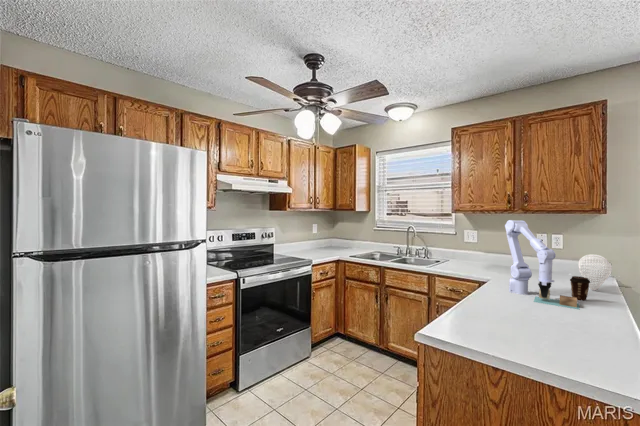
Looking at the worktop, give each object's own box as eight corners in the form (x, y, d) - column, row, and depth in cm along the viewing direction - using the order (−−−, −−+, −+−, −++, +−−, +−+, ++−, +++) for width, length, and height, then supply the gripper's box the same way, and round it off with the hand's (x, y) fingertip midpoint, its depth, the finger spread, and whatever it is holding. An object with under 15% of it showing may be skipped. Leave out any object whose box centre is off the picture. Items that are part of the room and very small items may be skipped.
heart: (611, 297, 182) (613, 259, 182) (577, 292, 192) (578, 256, 192) (608, 288, 204) (609, 254, 203) (577, 284, 214) (578, 252, 213)
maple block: (539, 297, 169) (539, 289, 169) (539, 296, 172) (539, 288, 172) (549, 299, 166) (549, 291, 166) (549, 297, 169) (550, 289, 169)
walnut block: (559, 304, 162) (559, 297, 162) (559, 301, 168) (559, 295, 168) (576, 307, 158) (577, 300, 158) (576, 304, 163) (576, 297, 163)
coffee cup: (584, 299, 176) (585, 276, 176) (593, 303, 168) (594, 279, 168) (566, 297, 179) (567, 275, 179) (573, 301, 171) (574, 278, 171)
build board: (533, 303, 166) (533, 301, 166) (535, 297, 177) (535, 296, 177) (579, 311, 154) (579, 309, 154) (578, 304, 165) (578, 303, 165)
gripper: (554, 274, 161) (553, 300, 161) (555, 270, 172) (554, 295, 172) (537, 272, 165) (536, 298, 165) (539, 268, 176) (538, 292, 177)
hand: (544, 296), depth 169 cm, fingers closed on maple block, 4 cm apart
